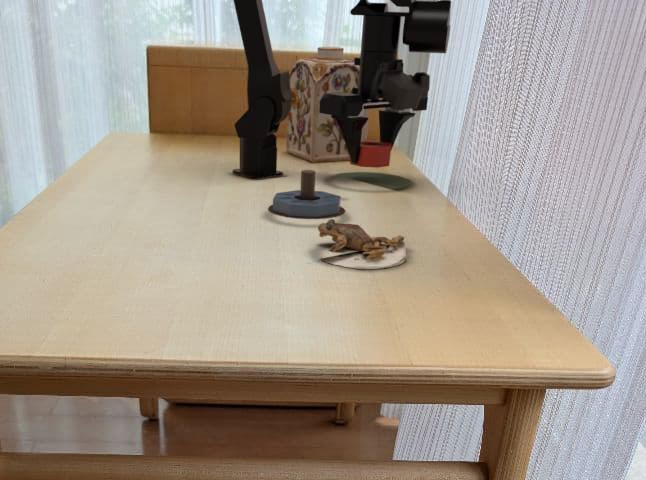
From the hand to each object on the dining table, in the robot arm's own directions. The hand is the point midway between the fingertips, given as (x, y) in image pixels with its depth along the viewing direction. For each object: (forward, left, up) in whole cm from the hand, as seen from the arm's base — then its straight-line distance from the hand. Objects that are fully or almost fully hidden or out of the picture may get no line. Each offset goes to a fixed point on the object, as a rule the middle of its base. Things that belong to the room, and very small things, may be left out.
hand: (369, 160), depth 135 cm
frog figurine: (+32, -31, -4) cm, 45 cm away
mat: (0, 0, -3) cm, 3 cm away
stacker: (+13, -24, -3) cm, 28 cm away
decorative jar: (-23, +10, -4) cm, 25 cm away
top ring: (0, 0, 0) cm, 0 cm away
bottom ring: (+13, -24, -2) cm, 27 cm away
